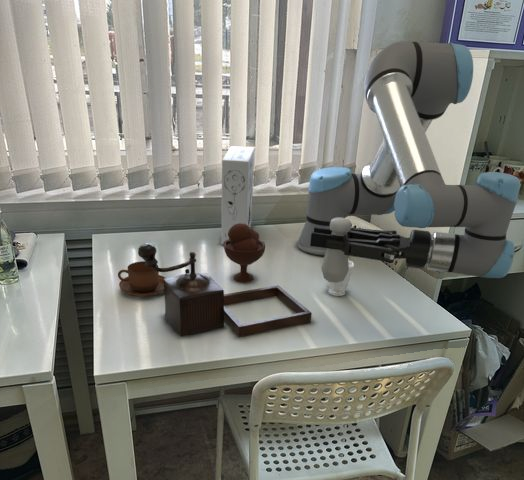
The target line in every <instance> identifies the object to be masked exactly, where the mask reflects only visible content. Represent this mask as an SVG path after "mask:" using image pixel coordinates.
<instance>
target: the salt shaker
mask: <svg viewBox="0 0 524 480" xmlns="http://www.w3.org/2000/svg"><path fill="white" fill-rule="evenodd" d="M351 228H352V222H351V220H350V219H349V218H346V217H345V218H340V217H339V218H334V219H332V220H331V222H330V230H331V231H332V233H331V235H337V236H344V235H347V232H349V231H350V229H351ZM348 260H349V255H344V252H343V251H342V250H337V249H329V248H327V250H326V253H325V256H323V260H322V264H321V267H320V268H321V273H322V276H323V279H324V280H326V281H327V282H328V281H329V282H336V283H337V282H341V281H343V280H344V278H345V277H346V275H347V273H348V270H349V264H348Z"/></svg>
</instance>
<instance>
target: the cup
mask: <svg viewBox="0 0 524 480" xmlns="http://www.w3.org/2000/svg"><path fill="white" fill-rule="evenodd" d="M348 264H349V270H348V273H347V275H346V277H345V278H344V280H343V281H341V282H337V283H336V282H329V281H327V284H328V294H330V295H332V296H334V297H342V296H345V295H346V291H347V289H348V287H349V284H350V281H351V278H352V276H353V275H352V274H353V271H354V268H355V263H354V261H352V260H349V259H348Z"/></svg>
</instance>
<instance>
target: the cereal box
mask: <svg viewBox="0 0 524 480" xmlns="http://www.w3.org/2000/svg"><path fill="white" fill-rule="evenodd" d="M254 163H255V147H254V146H253V147H252V146H235V145H233V146H232V145H231V146H229V149H228V150H227V152H226V153H225V155H224V157H223V158H222V160H221V239H220V240H221V245H222V246H224V244H223V242H224V241H226V240H228V239H229V237H228V232H229V229H230V228H231V227H232V226H233V225H235V224H238V223H242V224H246V225H248V226H249V227H250V228H252V223H253V222H252V221H253V220H252V219H253V196H254V195H253V194H254V193H253V192H254V191H253V190H254V167H255V164H254Z"/></svg>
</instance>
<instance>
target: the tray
mask: <svg viewBox="0 0 524 480" xmlns="http://www.w3.org/2000/svg"><path fill="white" fill-rule="evenodd" d="M274 297H276V298H277V299H278V300H280V301H281V302H282V304H284V305H285V306H286V307H288V308H289V309H290V310H292V311H293V312H294V313H292V314H287V315H286V314H285V315H282V316H276V317H271V318H266V319H261V320H256V321H251V322H245V323H241V322H240V321H239V320H238V319H237V317H235V316H234V315H233V313H232V312H231V311H230V310H229V309H228V308H227V307H226V306H230V305H235V304H241V303H247V302H252V301H258V300H264V299H269V298H270V299H271V298H274ZM312 314H313V313H312V311H310V310H309V309H308V308H307V307H306V306H304V305H303V304H302V303H301V302H299V301H298V300H297V299H296V298H295V297H293V296H292V295H291V294H290V293H289V292H287V291H286V290H285V289H283V288H282V287H281V286H280V285H272V286H265V287H260V288H254V289H249V290H241V291H236V292H229V293H224V323H226V324H227V326H228V327H229V328H230V329H231V331H232V332H234V334H235V335H236V337H238V338H241V337H246V336H251V335H256V334H260V333H266V332H270V331H276V330H281V329H285V328H290V327H296V326H300V325H305V324H310V323H312V316H313V315H312Z"/></svg>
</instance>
